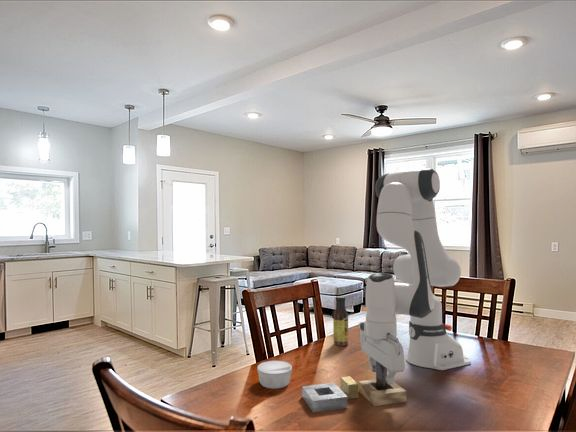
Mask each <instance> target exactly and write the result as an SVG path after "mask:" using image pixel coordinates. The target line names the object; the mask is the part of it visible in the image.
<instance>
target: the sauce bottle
mask: <svg viewBox="0 0 576 432" xmlns="http://www.w3.org/2000/svg"><path fill="white" fill-rule="evenodd" d="M335 304H336V305H335V309H334V311H333V320H332V321H333V325H332V327H333V329H332V330H333V344H334V345H335V346H339V347H343V346H348V345H349V315H348V311H347V308H346V296H344V295H337V296H335Z"/></svg>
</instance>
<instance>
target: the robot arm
mask: <svg viewBox="0 0 576 432" xmlns="http://www.w3.org/2000/svg"><path fill="white" fill-rule="evenodd" d="M440 187H441V182H440V176H439V174H438V173H437V171H435V170H434V168H431V167H429V168H428V167H427V168H426V167H422V168H411V169H404V170H400V171H395V172H391V173H389V172H387V173H384V174H383V175H380V176H378V179H377V180H376V182H375V187H374V188H375V189H374V190H375V195H376V197H377V198H378V202H377V209H376V231H377V233H378V234H379V236H380V237H381V239H383V240H384V241H386V242H388V243H390V244H392V245H394V246H397V247H399V248H402V249H404V250H406V251H407V253H408V254H402V255H399V256H397V257H396V259H395V260H394V262H393V266H392V267H393V268H392V269H393V274H394V275H395V276H393V275H392V274H390V273H387V272H376V273H372V274H370V275H369V276H368V277H367V278H366V279H367V280H366V287H365V307H366V315H365V321H360V322H359V323H358V327H359V330H360V333H359V336H360V337H359V339H360V348H361V351H362V352H363V353H364V354H366V355H367V359H368V362H369V365H370V366H369V367H370V371H371V372H372V373H376V361H377V362H378V363H380V364H381V365H383V366H384V367H386V368H387V376H386V382H387V383H388V384H393V383H394V382H395V377H396V374H397V373H403V372H404V371H405V369H406V364H405V360H406V362H408V363H409V364H411V365H414V366H417V367H421V368H428V369H435V370H438V371H445V370H450V369H455V368H459V367H462V366H464V367H465V366H468V365H471V360H470V358H469V357H468V356H465V355H464V350H463V347H462V345H461V344H460V342H458V341H457V340H456V339H454V338H453V337H452V336H451V335H449V334H448V333H447V331H448V332H451V331H452V330H453V326H452V325H451V324H448V323H447V324H445V323H443V309H442V308H443V305H442V302H441V299H440V298H438V296H436V295H435V294H434V293H433V291H432V287H438V288H443V287H444V288H445V287H453V286H455V285H456V284H457V283H458V282H459V280H460V278H461V274H462V269H461V266H460V264H459V263H458V261H457V260H456V259H455V258H453V257H452V256H451V255H450V254H449V253H448V252H447V251H446V249H445V248H444V245H443V244H442V242H441V240H440V237H439V231H438V225H437V223H438V222H437V217H436V211H435V204H434V200H433V199H434V198H436V197H437V195H438V194H439V192H440ZM394 277H396V278H397V280H399V281H400V282H398V281H395V278H394ZM396 315H403V316H404V315H405V316H409V319H410V320H409V321H408V322H409V323H408V333H409V334H408V335H409V344H408V350H407V355H406V358H405V354H404V348H403V345H402V343H401V342H400V341H399V338H398V337H397V335H398V334H397V333H398V332H397V331H398V330H397V327H398V326H397V316H396Z"/></svg>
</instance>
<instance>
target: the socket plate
mask: <svg viewBox="0 0 576 432" xmlns="http://www.w3.org/2000/svg"><path fill="white" fill-rule="evenodd" d="M301 393H302V394H301V397H302V398H303V400H304V401H305V403H306V405H307V406H308V407H309V409H310V410H311V412H312V413H319V412H327V411H334V410H341V409H347V408H348V406H349V405H348V401H349V399H348V397H347V396H346V395H345V393H344V392H343V391H342V390H341V387H339V386H338V385H337V384H336V383H335V382H327V383H320V384H319V383H318V384H310V385H303V386H301Z"/></svg>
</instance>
